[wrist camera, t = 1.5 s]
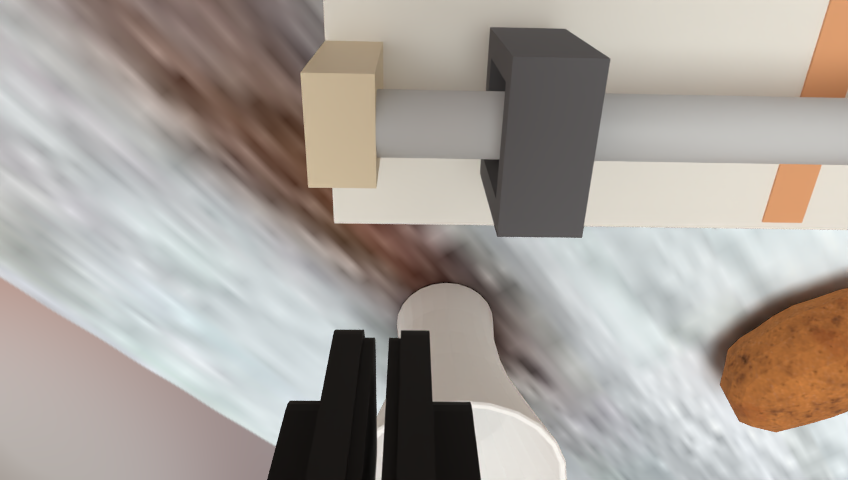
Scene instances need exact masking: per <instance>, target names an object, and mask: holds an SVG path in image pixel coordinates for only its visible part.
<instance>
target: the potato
mask: <svg viewBox="0 0 848 480" xmlns="http://www.w3.org/2000/svg"><path fill="white" fill-rule="evenodd" d="M720 386H721V388H722V390H723V392H724V393H725V395H726V397H727V399H728V401H729V403H730V405H731V407H732V409H733V411H734V413H735V414H736V416H737V418H738V420H739V422H742V423H745V424H747V425H750V426H752V427H756V428H760V429H764V430H769V431H773V432H779V431H783V430H787V429H791V428H795V427H799V426H803V425H807V424H810V423H814V422H817V421H821V420H824V419H828V418H831V417H834V416H837V415H839V414H842V413H845V412H847V411H848V288H845V289H840V290H837V291H834V292H831V293H828V294H826V295H823V296H820V297H817V298H814V299H811V300H808V301H805V302H802V303H799V304H795V305H793V306H791V307H789V308H787V309H785V310H783V311H781V312H779V313H777V314H776V315H774V316H772V317H771V318H770V319H768V320H767V321H765V322H764V323H763V324H761V325H760V326H758V327H757V328H756V329H754V330H752V331H751V332H749V333H747V334H746V335H744V336H742V337H741V338H739V339H738V340H737V341H736V342H735V343H734V344H733V345H732V346H731V347H730V348H729V349H728V351H727V356H726V361H725V367H724V371H723V375H722V378H721V382H720Z"/></svg>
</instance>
